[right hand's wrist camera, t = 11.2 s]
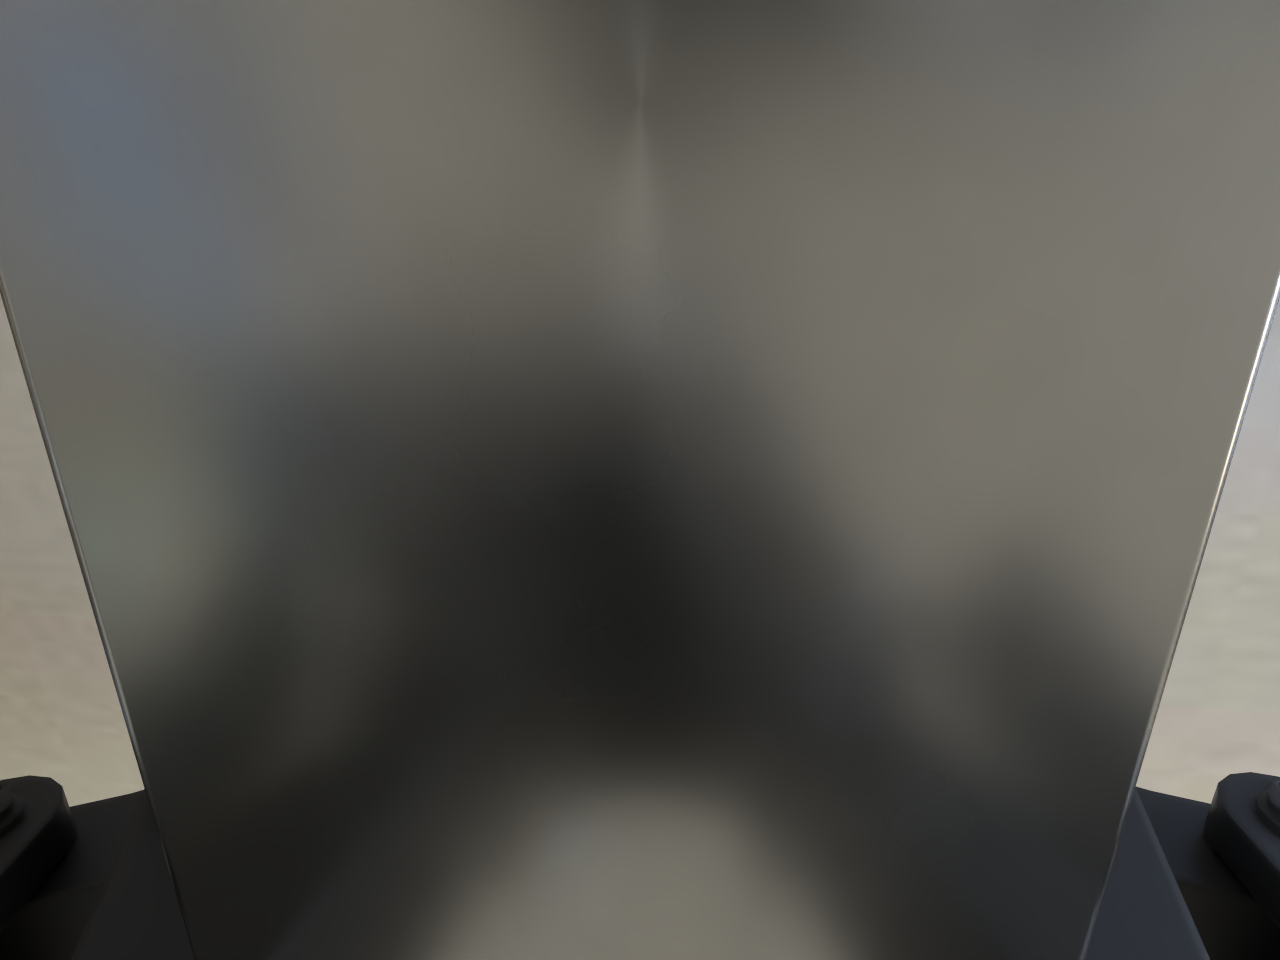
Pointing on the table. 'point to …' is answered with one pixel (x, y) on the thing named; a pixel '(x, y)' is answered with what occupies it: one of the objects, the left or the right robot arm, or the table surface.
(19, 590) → the table surface
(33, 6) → the box
